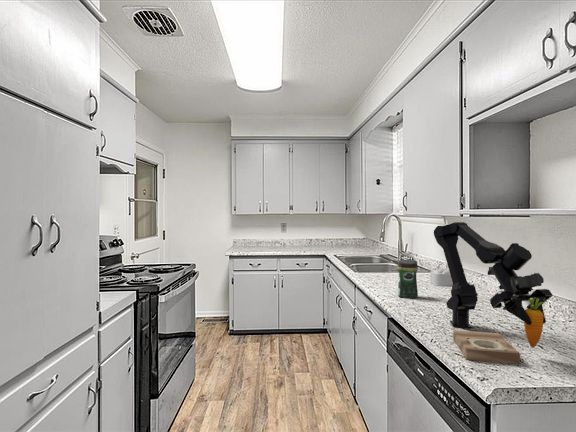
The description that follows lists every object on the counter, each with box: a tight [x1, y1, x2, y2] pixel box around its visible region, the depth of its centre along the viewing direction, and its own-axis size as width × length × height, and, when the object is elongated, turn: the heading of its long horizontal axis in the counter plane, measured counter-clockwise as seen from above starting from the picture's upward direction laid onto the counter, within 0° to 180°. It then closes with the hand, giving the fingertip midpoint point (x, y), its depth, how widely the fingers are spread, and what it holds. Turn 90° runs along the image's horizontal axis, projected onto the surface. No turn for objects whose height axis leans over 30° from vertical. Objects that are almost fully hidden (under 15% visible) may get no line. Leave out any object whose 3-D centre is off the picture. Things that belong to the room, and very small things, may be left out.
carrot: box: [523, 298, 545, 349], centre depth 113 cm, size 5×5×15 cm
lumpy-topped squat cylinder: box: [430, 268, 453, 287], centre depth 222 cm, size 10×13×9 cm
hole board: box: [452, 329, 521, 365], centre depth 118 cm, size 18×14×3 cm
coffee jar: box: [397, 259, 419, 299], centre depth 190 cm, size 10×8×19 cm
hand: (537, 323), depth 112 cm, fingers closed on carrot, 5 cm apart
